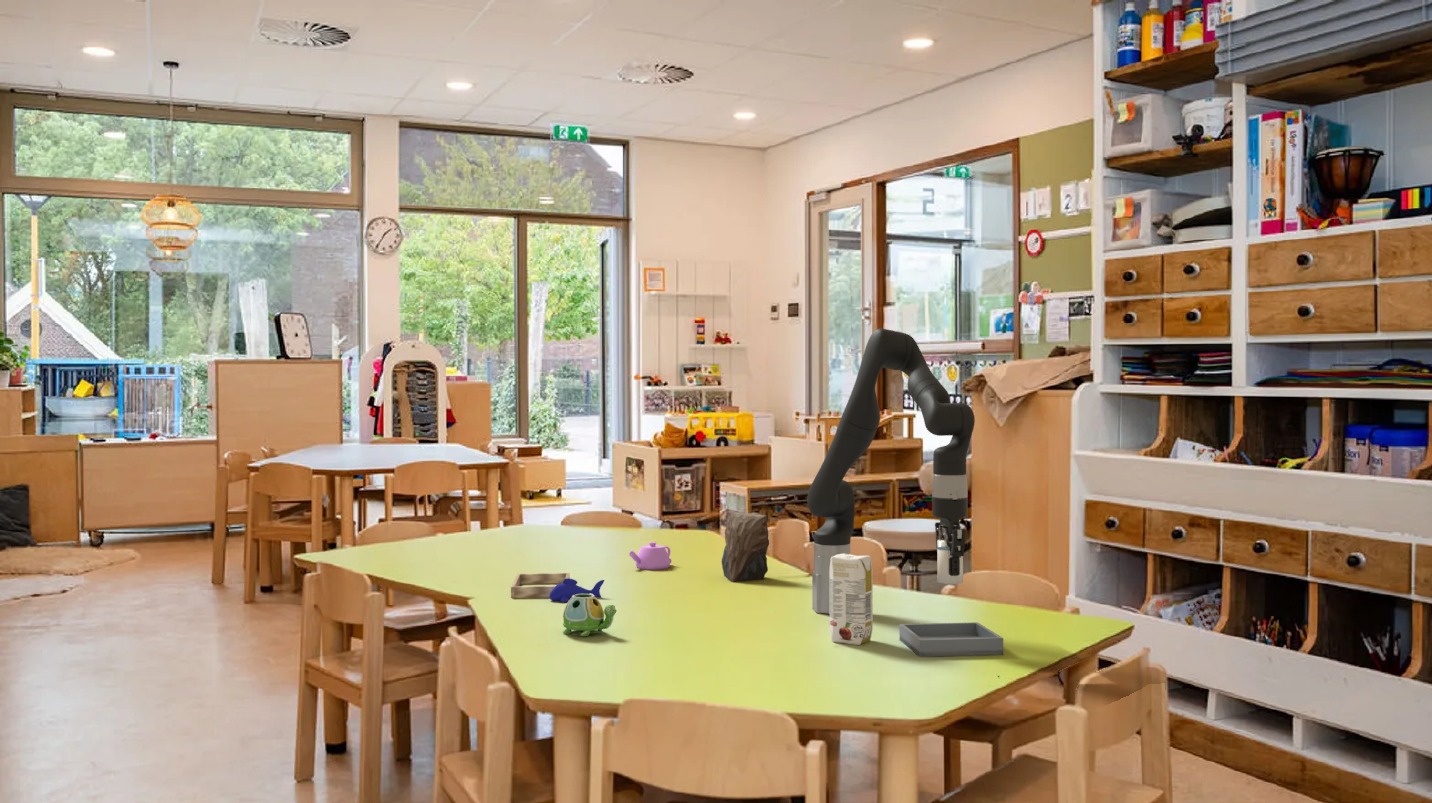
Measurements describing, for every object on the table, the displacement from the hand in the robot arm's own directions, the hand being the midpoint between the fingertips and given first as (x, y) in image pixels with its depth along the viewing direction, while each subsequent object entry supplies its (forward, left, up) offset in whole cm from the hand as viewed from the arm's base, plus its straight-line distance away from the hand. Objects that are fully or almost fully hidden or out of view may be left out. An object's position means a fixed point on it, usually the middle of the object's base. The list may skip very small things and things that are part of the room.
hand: (949, 572), depth 238 cm
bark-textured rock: (-33, +88, -16) cm, 96 cm away
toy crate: (-92, +73, -16) cm, 119 cm away
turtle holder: (-78, +23, -16) cm, 83 cm away
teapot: (-61, +107, -16) cm, 124 cm away
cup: (0, 0, -2) cm, 2 cm away
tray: (0, 0, -16) cm, 16 cm away
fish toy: (-82, +60, -16) cm, 103 cm away
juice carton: (-20, +8, -16) cm, 27 cm away
